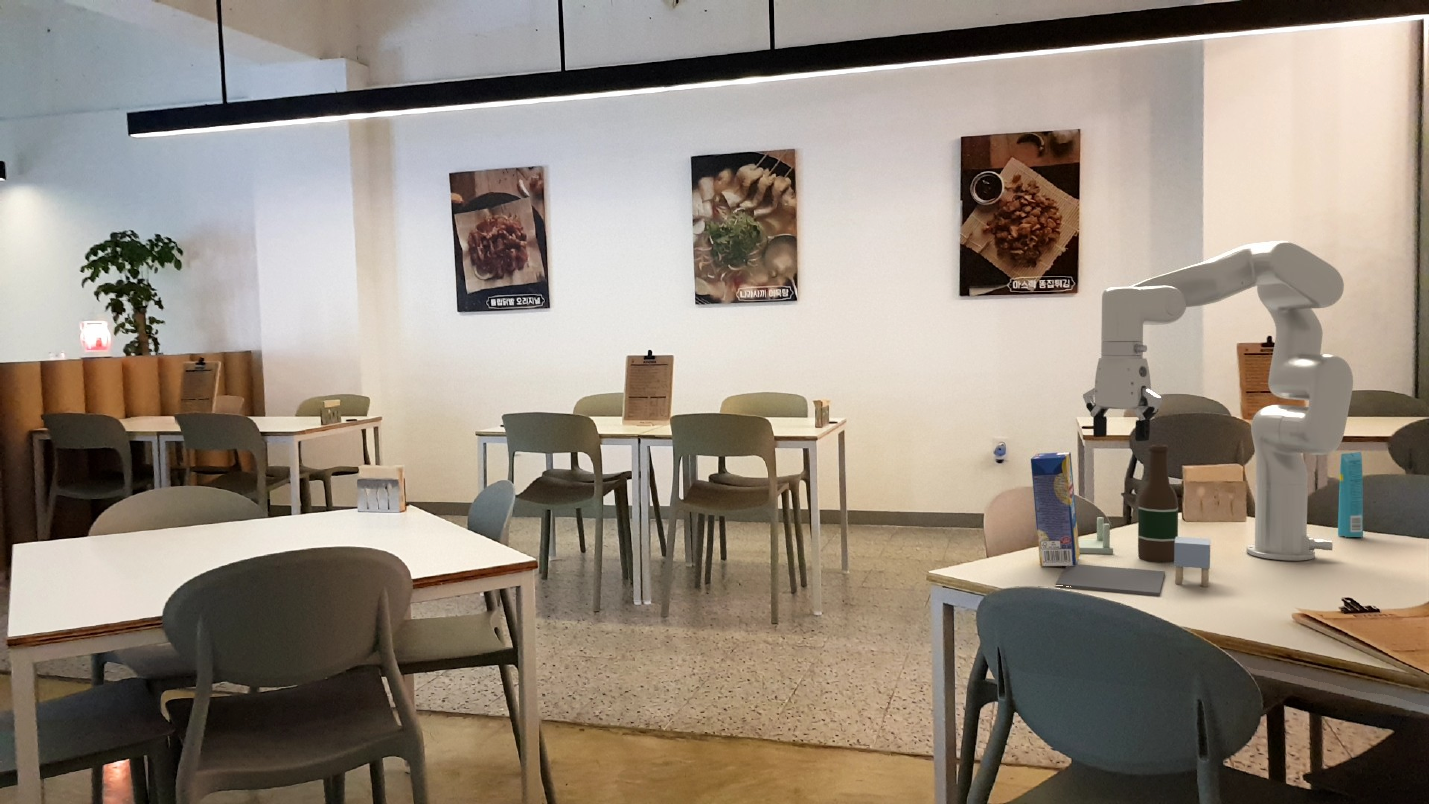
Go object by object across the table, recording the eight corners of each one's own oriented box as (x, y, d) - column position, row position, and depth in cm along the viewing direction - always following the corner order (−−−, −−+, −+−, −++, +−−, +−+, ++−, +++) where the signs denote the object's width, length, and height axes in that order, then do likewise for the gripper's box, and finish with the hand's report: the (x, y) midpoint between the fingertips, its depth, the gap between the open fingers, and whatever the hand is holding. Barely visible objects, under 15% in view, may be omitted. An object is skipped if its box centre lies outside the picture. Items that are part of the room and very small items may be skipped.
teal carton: (1346, 532, 235) (1348, 450, 234) (1369, 536, 231) (1371, 452, 230) (1330, 536, 231) (1332, 453, 229) (1353, 540, 227) (1355, 454, 225)
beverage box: (1079, 555, 214) (1070, 451, 214) (1075, 565, 204) (1065, 457, 204) (1046, 555, 217) (1036, 453, 217) (1040, 566, 207) (1030, 459, 207)
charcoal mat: (1164, 574, 199) (1164, 571, 199) (1159, 596, 183) (1159, 592, 183) (1068, 566, 207) (1068, 563, 207) (1055, 586, 191) (1055, 583, 191)
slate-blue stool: (1209, 580, 194) (1210, 538, 193) (1209, 587, 188) (1210, 545, 188) (1175, 577, 196) (1175, 536, 196) (1174, 584, 191) (1174, 542, 190)
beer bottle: (1182, 563, 208) (1183, 447, 206) (1141, 562, 209) (1142, 447, 208) (1173, 555, 215) (1174, 442, 214) (1134, 554, 217) (1135, 442, 215)
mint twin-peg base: (1104, 544, 227) (1105, 516, 227) (1113, 553, 218) (1113, 525, 217) (1058, 543, 229) (1058, 516, 229) (1064, 552, 220) (1064, 524, 219)
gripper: (1173, 350, 191) (1172, 441, 192) (1097, 350, 206) (1096, 434, 207) (1148, 351, 187) (1146, 443, 189) (1072, 351, 202) (1071, 436, 203)
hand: (1120, 438), depth 198 cm, fingers open, 9 cm apart
